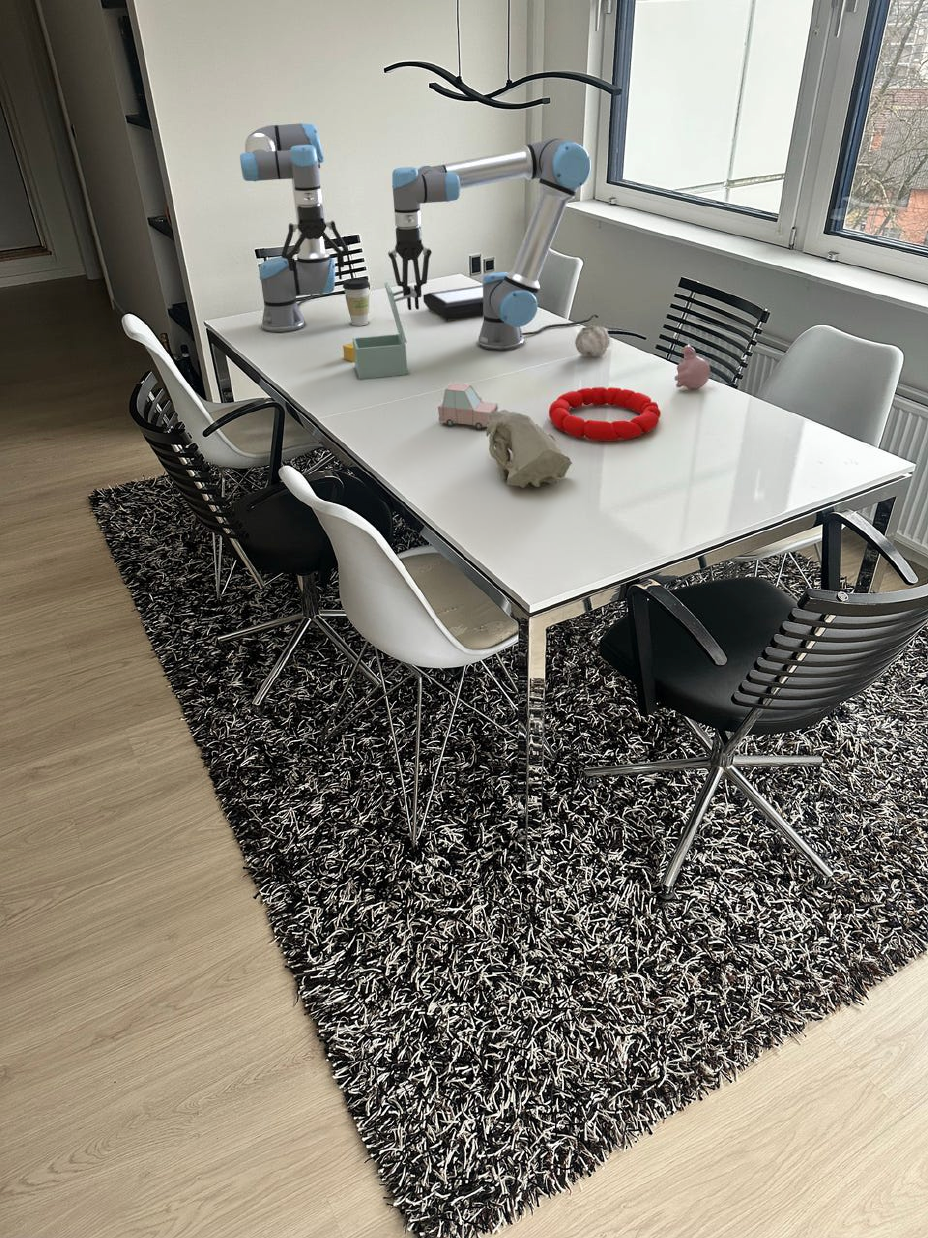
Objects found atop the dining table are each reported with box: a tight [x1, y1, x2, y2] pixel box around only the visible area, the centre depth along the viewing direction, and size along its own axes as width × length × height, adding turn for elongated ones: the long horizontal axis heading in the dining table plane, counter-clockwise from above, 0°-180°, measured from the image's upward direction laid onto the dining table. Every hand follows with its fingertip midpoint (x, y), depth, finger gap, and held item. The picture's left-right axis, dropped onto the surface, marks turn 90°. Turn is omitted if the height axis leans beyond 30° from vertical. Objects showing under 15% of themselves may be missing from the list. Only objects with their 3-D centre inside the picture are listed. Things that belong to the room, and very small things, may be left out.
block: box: [342, 342, 355, 363], centre depth 293 cm, size 4×4×4 cm
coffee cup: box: [342, 277, 371, 327], centre depth 323 cm, size 10×10×15 cm
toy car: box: [437, 382, 499, 431], centre depth 243 cm, size 9×15×10 cm, turn 70°
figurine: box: [674, 344, 711, 390], centre depth 259 cm, size 9×11×12 cm
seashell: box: [574, 324, 611, 358], centre depth 286 cm, size 10×15×10 cm
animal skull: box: [485, 409, 573, 489], centre depth 216 cm, size 17×25×20 cm
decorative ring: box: [548, 386, 661, 442], centre depth 242 cm, size 7×30×30 cm
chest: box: [352, 333, 408, 380], centre depth 281 cm, size 15×12×9 cm
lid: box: [384, 282, 417, 344], centre depth 275 cm, size 16×12×8 cm
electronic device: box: [422, 284, 483, 322], centre depth 335 cm, size 32×6×20 cm
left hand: (318, 279), depth 274 cm, fingers open, 13 cm apart
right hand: (413, 308), depth 275 cm, fingers closed on lid, 2 cm apart
